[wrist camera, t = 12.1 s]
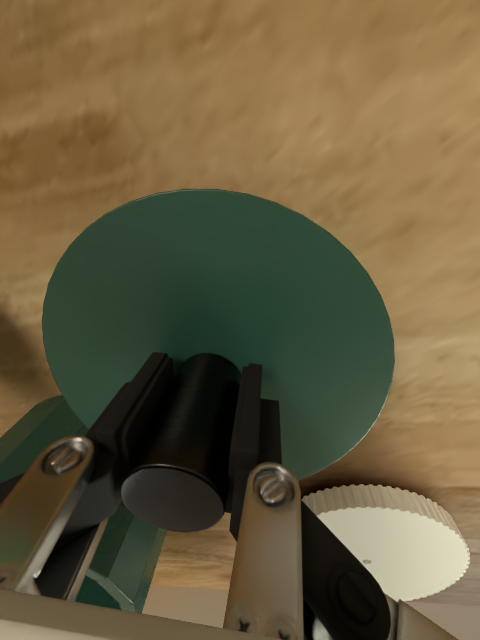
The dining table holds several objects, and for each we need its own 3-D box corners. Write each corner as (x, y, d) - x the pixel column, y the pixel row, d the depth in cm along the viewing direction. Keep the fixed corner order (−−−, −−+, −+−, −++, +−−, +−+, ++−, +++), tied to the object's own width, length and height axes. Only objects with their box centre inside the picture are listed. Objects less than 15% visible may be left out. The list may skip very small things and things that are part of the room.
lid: (22, 174, 10) (-312, 147, 4) (440, 206, 9) (733, 228, 3) (91, 450, 16) (-5, 588, 10) (338, 485, 15) (378, 656, 10)
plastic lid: (453, 562, 24) (473, 602, 22) (299, 570, 27) (301, 605, 25) (442, 458, 19) (466, 495, 16) (252, 483, 22) (250, 517, 20)
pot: (1, 383, 20) (-165, 502, 12) (179, 407, 19) (119, 551, 11) (47, 494, 26) (-46, 620, 18) (184, 515, 25) (146, 657, 17)
